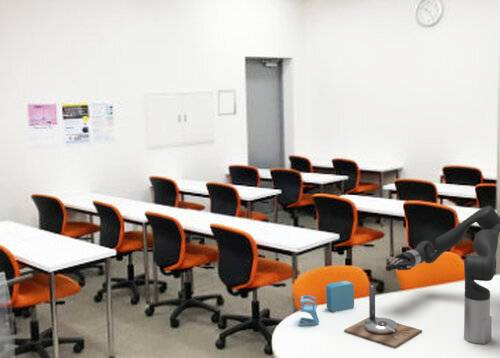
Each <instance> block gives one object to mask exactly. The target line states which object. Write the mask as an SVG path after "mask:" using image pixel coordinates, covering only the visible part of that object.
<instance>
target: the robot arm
mask: <svg viewBox="0 0 500 358" xmlns="http://www.w3.org/2000/svg"><path fill="white" fill-rule="evenodd" d="M475 223H477V225H478V226H479V227H480V229H481V230H479V231H477V233H476V234H475V235H474V238H473V239H474V240H473V243H472V247H473V250H474V252H475V253H476V254H477V255H467V256H466V257H465V259H464V265H463V271H464V313H463V314H464V317H463V322H464V323H463V338H464V340H465V341H467V342H469V343H473V344H480V345H481V344H482V345H486V344H488V343H489V342H490V341H491V340H492V333H493V332H492V325H493V318H492V317H493V316H491V315H490V313H491V312H490V310H491V308H490V307H491V301H490V300H491V291H490V289H488V288H487V287H484V285H483V286H482V285H481V284H479V283H477V282H476V281H480V282H481V281H483V282H490V281H492V280H493V278H494V276H495V272H496V271H495V270H496V255H497V249H498V245H499V236H500V215H499V214H498V213H497V211H496V210H495V209H494V208H493V207H492V206H490V205H487V206H483V207H482V208H480V209H478V210H477V211H475V212H474V213H472V214H471V215H469V217H467V218H466V219H464V220H463V221H462V222H460V223H459V224H457V225H456V226H455V227H454V228H452V229H450V230H449V231H447V232H445V233H444V234H442V235H440V236H438V237H436V238H435V240H434V242H435V245H436V249H435V246H433V244H432V243H431V242H430V240H423V241H421V242H419V243H418V244H417V246H416V247H415V248H413V249H411V250H407V251H404V252H402V253H399V254H398V255H397V256H396V258H393V259H389V258H386V264H385V270H386V271H387V272H391V271H393V270H394V271H396V270H397V271H408V270H412V268H414V267H416V266H418V265H420V264H422V263H425V264H432V263H434V262H435V261H436V260H437V259H439V257H440V256H441V255H443V254H444V253H445V252H447V251H449V250H451V249H452V248H453V247H456V246H457V245H459V244H460V243H461V242H462V240H463V238H464V236H465V235H466V233H467V231H468V230H469V228H471V226H472V225H474V224H475Z"/></svg>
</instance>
